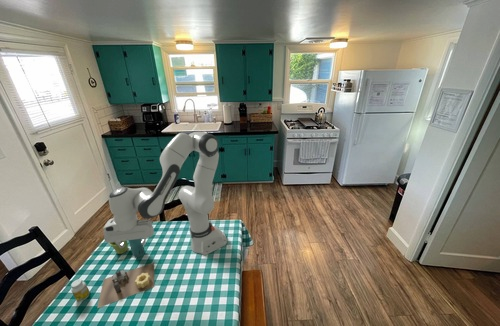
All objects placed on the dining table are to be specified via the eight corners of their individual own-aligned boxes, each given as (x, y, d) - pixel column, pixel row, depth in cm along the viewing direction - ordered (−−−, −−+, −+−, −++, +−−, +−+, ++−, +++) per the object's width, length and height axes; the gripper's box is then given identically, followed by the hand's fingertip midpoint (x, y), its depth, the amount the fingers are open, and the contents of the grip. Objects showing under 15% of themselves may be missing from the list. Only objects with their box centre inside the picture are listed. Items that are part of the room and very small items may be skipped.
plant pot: (111, 249, 125) (107, 239, 122) (128, 242, 131) (125, 231, 127) (115, 259, 119) (110, 247, 115) (132, 250, 124) (129, 239, 121)
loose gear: (150, 274, 107) (149, 270, 106) (150, 285, 101) (149, 281, 100) (136, 279, 105) (135, 275, 103) (136, 290, 99) (134, 286, 98)
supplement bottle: (92, 292, 100) (86, 278, 97) (82, 303, 95) (75, 289, 92) (84, 290, 101) (77, 276, 98) (73, 300, 97) (66, 287, 93)
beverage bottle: (140, 260, 117) (132, 233, 110) (130, 258, 119) (121, 231, 111) (148, 251, 123) (140, 225, 115) (138, 250, 125) (130, 224, 117)
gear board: (154, 264, 115) (152, 255, 112) (155, 288, 101) (152, 279, 99) (104, 281, 106) (100, 272, 103) (98, 310, 92) (93, 301, 90)
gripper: (152, 214, 97) (157, 237, 102) (105, 220, 93) (112, 243, 98) (149, 223, 91) (154, 246, 96) (98, 229, 87) (106, 253, 92)
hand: (133, 245), depth 97 cm, fingers open, 8 cm apart
